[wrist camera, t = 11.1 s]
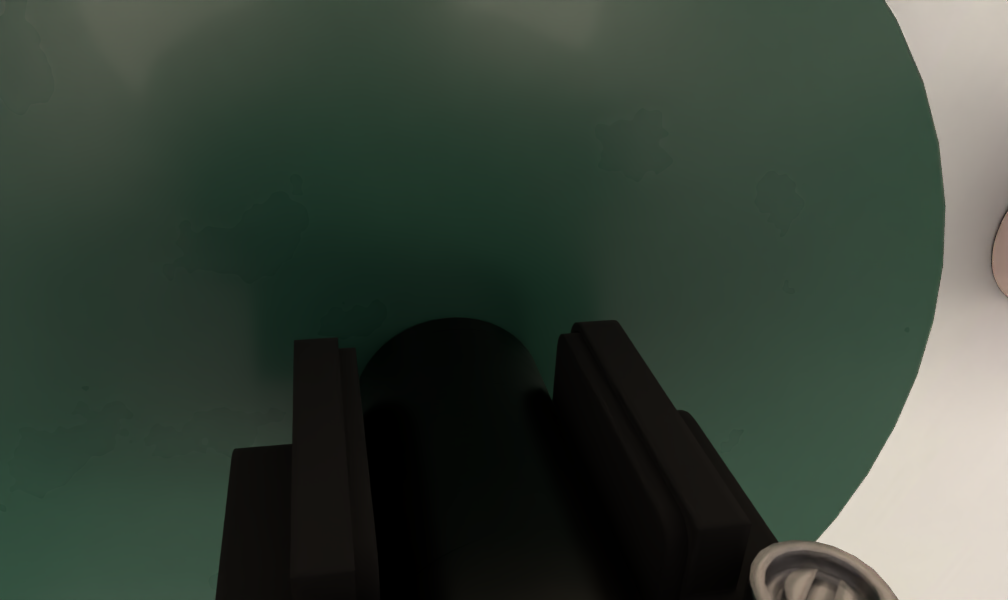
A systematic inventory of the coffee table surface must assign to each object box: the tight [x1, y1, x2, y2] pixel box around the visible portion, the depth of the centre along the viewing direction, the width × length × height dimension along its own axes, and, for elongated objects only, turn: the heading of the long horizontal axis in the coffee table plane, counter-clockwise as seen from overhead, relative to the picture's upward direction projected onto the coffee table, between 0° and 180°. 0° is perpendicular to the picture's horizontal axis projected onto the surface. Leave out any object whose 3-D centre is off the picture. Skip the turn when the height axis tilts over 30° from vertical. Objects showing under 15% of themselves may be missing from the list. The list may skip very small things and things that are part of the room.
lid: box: [0, 0, 945, 600], centre depth 10 cm, size 15×15×7 cm
